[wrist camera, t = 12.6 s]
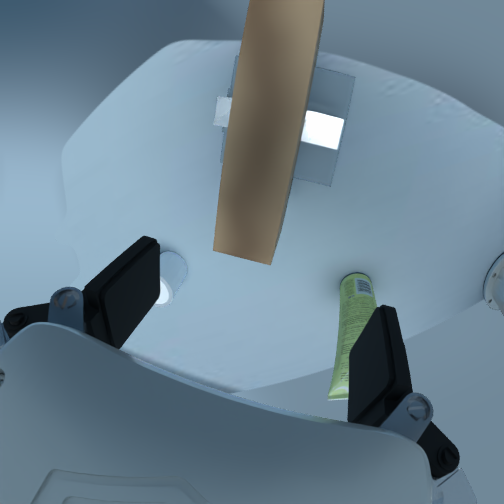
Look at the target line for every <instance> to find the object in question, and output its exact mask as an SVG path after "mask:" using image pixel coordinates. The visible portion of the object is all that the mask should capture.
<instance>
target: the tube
mask: <svg viewBox="0 0 504 504" xmlns="http://www.w3.org/2000/svg"><path fill="white" fill-rule="evenodd" d="M376 307H377V305H376V300H375V296H374V292H373V287H372V284H371V281H370V279H369V278H368V277H367V276H365V275H363V274H357V273H356V274H351V275H349V276H347V277H345V278H344V279H343V281H342V282H341V285H340V314H339V331H338V342H337V351H336V358H335V365H334V371H333V376H332V381H331V386H330V389H329V393H328V400H339V399H348V394H349V353H350V350H351V348H352V347H353V345H354V344H355V342H356V340H357V339H358V337H359V336H360V334H361V332H362V331H363V329H364V327H365V326H366V324H367V322H368V321H369V319H370V317H371V315H372V314H373V312H374V310H375V309H376Z"/></svg>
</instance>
